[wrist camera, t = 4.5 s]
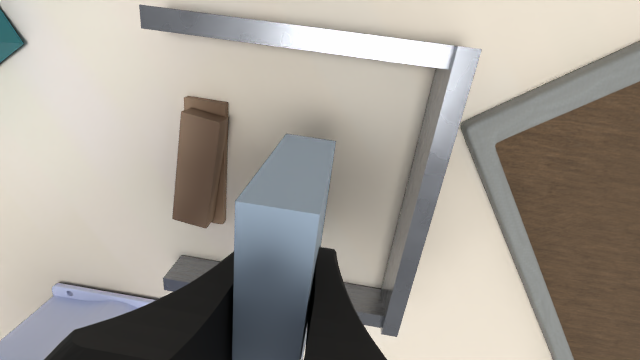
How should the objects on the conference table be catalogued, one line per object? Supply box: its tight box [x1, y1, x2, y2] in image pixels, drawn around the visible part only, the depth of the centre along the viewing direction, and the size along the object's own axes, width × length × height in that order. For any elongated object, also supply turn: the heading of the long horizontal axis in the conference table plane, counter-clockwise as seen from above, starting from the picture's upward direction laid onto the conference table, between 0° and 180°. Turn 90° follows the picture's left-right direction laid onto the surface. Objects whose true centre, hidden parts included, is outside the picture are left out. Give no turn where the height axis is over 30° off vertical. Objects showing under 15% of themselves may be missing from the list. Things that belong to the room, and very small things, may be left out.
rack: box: [139, 5, 482, 337], centre depth 19 cm, size 16×17×3 cm
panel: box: [232, 134, 336, 360], centre depth 12 cm, size 2×9×6 cm, turn 173°
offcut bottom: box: [184, 96, 228, 224], centre depth 21 cm, size 2×8×1 cm, turn 172°
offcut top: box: [173, 107, 228, 228], centre depth 20 cm, size 2×7×1 cm, turn 165°
